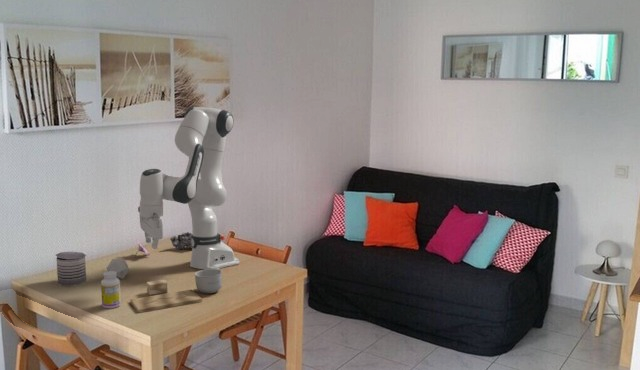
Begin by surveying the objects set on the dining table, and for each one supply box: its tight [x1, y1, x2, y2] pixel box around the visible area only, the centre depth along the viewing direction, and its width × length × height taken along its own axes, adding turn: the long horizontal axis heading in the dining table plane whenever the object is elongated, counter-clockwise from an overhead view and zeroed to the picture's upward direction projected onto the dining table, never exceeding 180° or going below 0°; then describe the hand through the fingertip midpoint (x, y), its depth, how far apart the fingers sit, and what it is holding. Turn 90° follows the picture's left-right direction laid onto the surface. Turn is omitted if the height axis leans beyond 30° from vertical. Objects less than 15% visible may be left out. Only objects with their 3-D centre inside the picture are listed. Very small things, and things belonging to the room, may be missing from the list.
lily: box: [133, 238, 150, 258], centre depth 300 cm, size 11×11×9 cm
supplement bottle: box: [100, 271, 122, 309], centre depth 235 cm, size 7×7×13 cm
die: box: [106, 258, 130, 279], centre depth 269 cm, size 8×9×10 cm
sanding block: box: [146, 279, 168, 296], centre depth 251 cm, size 7×4×4 cm, turn 120°
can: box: [55, 250, 87, 287], centre depth 262 cm, size 11×11×12 cm
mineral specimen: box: [169, 231, 193, 250], centre depth 313 cm, size 13×10×11 cm
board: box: [129, 289, 203, 314], centre depth 241 cm, size 24×12×1 cm, turn 120°
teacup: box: [194, 268, 223, 295], centre depth 255 cm, size 14×11×8 cm
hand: (151, 245), depth 249 cm, fingers open, 8 cm apart
